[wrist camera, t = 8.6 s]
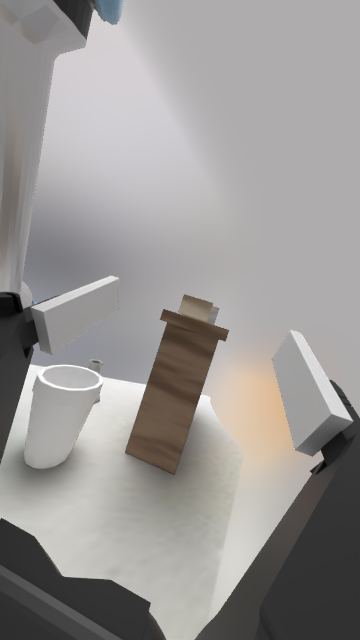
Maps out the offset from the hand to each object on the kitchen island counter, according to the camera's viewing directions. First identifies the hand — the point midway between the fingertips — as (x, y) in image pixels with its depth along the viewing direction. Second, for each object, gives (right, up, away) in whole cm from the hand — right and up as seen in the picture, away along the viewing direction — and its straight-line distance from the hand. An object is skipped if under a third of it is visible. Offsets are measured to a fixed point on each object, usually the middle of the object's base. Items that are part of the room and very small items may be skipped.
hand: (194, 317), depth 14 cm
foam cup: (-23, -22, +16) cm, 35 cm away
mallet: (+3, 0, +26) cm, 27 cm away
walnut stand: (-5, -27, +32) cm, 42 cm away
